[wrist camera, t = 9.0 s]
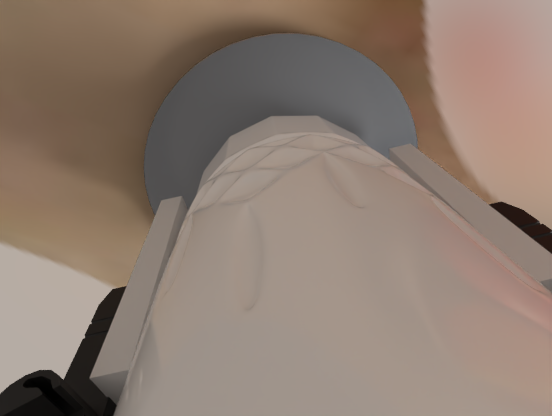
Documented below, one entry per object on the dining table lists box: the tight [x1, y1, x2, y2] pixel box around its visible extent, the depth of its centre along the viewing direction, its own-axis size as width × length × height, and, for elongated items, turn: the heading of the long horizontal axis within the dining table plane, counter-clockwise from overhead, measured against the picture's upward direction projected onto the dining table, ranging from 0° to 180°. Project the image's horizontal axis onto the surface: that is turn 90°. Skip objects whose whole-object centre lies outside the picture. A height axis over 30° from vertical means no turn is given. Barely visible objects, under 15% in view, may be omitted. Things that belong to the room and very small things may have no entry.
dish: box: [144, 33, 418, 215], centre depth 14 cm, size 11×11×1 cm
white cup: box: [113, 115, 552, 416], centre depth 8 cm, size 8×8×10 cm
